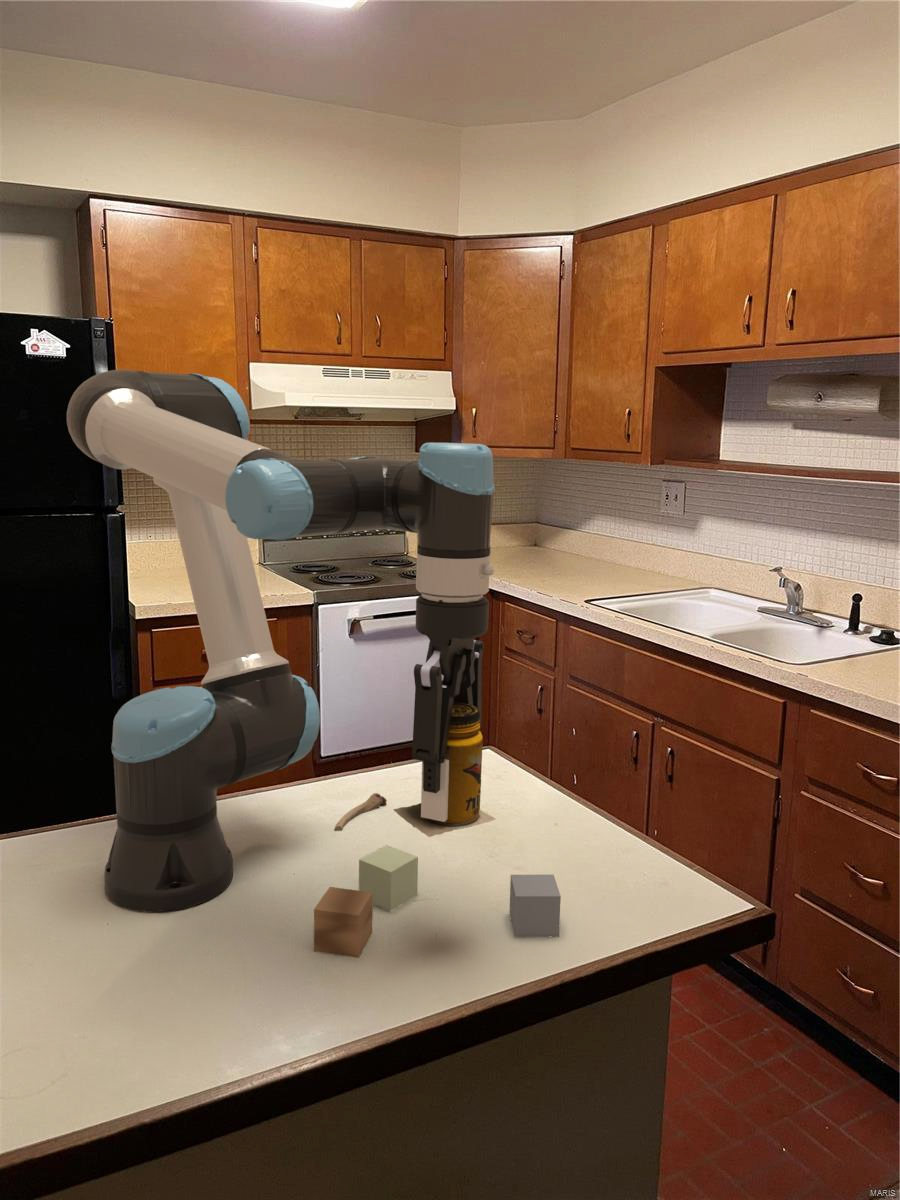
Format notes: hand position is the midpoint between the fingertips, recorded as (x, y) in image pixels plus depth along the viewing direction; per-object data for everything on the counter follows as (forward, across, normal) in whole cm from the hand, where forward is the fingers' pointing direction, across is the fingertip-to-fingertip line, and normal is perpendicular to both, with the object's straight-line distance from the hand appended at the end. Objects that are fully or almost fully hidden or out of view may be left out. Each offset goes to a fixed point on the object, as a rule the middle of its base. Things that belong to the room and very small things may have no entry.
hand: (446, 805), depth 97 cm
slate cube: (+16, +7, -8) cm, 19 cm away
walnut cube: (+16, -5, +10) cm, 19 cm away
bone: (+16, +25, +24) cm, 38 cm away
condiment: (+1, -1, 0) cm, 1 cm away
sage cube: (+16, +6, +10) cm, 19 cm away
